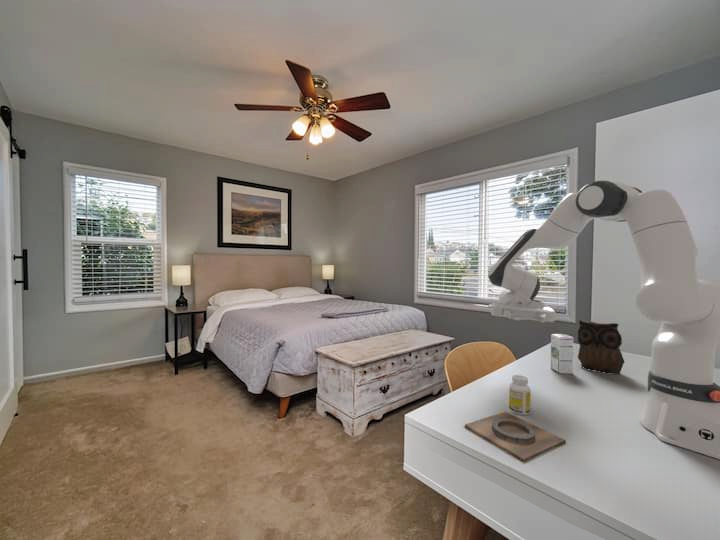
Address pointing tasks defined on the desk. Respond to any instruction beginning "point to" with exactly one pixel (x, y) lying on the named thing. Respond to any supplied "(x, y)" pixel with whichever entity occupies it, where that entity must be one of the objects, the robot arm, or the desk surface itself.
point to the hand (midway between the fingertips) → (527, 318)
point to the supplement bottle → (519, 395)
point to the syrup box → (562, 353)
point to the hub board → (515, 435)
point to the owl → (600, 346)
